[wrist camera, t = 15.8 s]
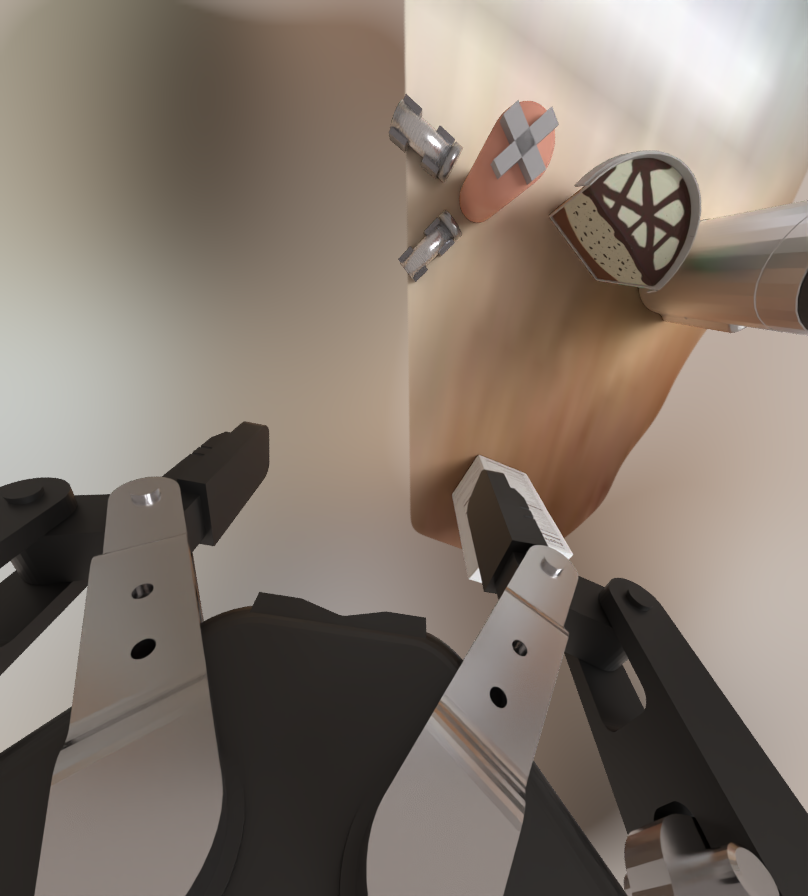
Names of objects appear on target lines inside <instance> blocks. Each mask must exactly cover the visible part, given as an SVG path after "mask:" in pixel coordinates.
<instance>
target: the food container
mask: <svg viewBox="0 0 808 896" xmlns="http://www.w3.org/2000/svg"><path fill="white" fill-rule="evenodd" d="M579 186H584V187H583V188H581V189H580V190H579V191H578V192H576V193H575V194H574V195H573V196H571V197H570V198H569V199H568V200H566V201H565V202H564V203H563V204H561V205H560V206H559V207H558V208H557V209H555V210H554V211H553V212H552V213H551V214H550V215H549V217H550V219H551V220H552V221H553V223H554V224H555V225H556V227H557V228H558V230H559V231H560V232H561V234H562V235H563V236H564V238H565V239H566V240H567V242H568V243H569V244H570V246H571V247H572V249H573V250H574V251H575V253H576V254H577V255H578V257H579V258H580V259H581V261H582V262H583V263H584V265H585V266H586V268H587V269H588V270H589V272H590V273H591V274H592V276H593V277H594V278H595V280H596V281H602V282H608V283H615V284H621V285H627V286H634V287H640V288H647V289H649V290H648V291H647V293H652V292H656V291H657V290H660V289H661V288H662V287H663V286H664V285H665V284H666V283H667V282H668V281H669V280H670V279H671V278H672V277H673V276H674V274H675V273H676V272H677V271H678V269H679V268H680V266H681V265H682V263H683V262H684V260H685V259H686V257H687V255H688V253H689V251H690V249H691V247H692V245H693V242H694V240H695V237H696V234H697V230H698V227H699V223H700V215H701V196H700V190H699V186H698V183H697V181H696V178H695V176H694V174H693V173H692V171H691V170H690V168H689V167H688V166H687V165H686V164H685V163H683V162H682V161H681V160H680V159H678V158H676V157H674V156H672V155H670V154H668V153H664V152H660V151H638V152H632V153H627V154H622V155H619V156H616V157H614V158H611V159H608V160H607V161H605V162H603V163H601V164H600V165H598V166H596V167H595V168H594V169H592V170H591V171H590V172H588V173H587V174H586V175H585V176H583V177H582V178H581V179H580V180H579V181H578V182H577V183H576V184H575V187H579Z"/></svg>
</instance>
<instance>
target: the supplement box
mask: <svg viewBox="0 0 808 896" xmlns="http://www.w3.org/2000/svg"><path fill="white" fill-rule="evenodd" d="M484 469H485V470H490V471H495V472H500V473H504V475H505V477H506V479H507V481H508V483H509V485H510V487H511V488H515V489H516V490H517V491H518V492H519V493H520V494H521V495H522V496H523V497H524V498H525V500H526V502H527V504H528V506H529V510H531V512H532V514H533V516H534V517H533V519H535V520H536V523H537V525H538V527H539V529H540V531H541V533H542V535H543V537H544V539H545V541H546V543H547V545H548V547H550V548H553V549H555V550H557V551H558V552H560V553H561V554H563V555H564V556H565V557H566V558H567V559H568V560H569V558H571V557H572V556H573V553H572V552H571V550H570V548H569V547H568V545H567V543H566V541H565V540H564V538H563V536H562V535H561V533H560V531H559V529H558V528H557V526H556V524H555V523H554V521H553V519H552V518H551V516H550V514H549V513H548V511H547V509H546V507H545V506H544V504H543V502H542V500H541V499H540V497H539V495H538V493H537V492H536V490H535V488H534V487H533V485H532V483H531V481H530V480H529V478H528V476H527V475H526V474H525V473H523V472H521V471H518V470H516V469H513V468H511V467H508V466H506V465H503V464H501V463H498V462H496V461H493V460H491V459H488V458H486V457H483V456H481V455H478V456H477V458H476V459H475V461H474V462H473V464H472V465H471V467H470V468H469V470H468V471H467V473H466V474H465V476H464V477H463V479H462V480H461V482H460V483H459V485H458V486H457V488H456V489H455V491H454V492H453V494H452V498H453V503H454V508H455V513H456V518H457V523H458V528H459V533H460V538H461V544H462V549H463V554H464V559H465V564H466V569H467V575H468V579H470V580H473V581H477V582H480V583H482V580H481V576H480V571H479V567H478V562H477V558H476V553H475V549H474V544H473V540H472V535H471V531H470V527H469V522H468V518H467V507H468V502H469V499H470V497H471V494H472V492H473V489H474V487H475V485H476V482H477V480H478V477H479V475H480V473H481V471H482V470H484Z"/></svg>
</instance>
